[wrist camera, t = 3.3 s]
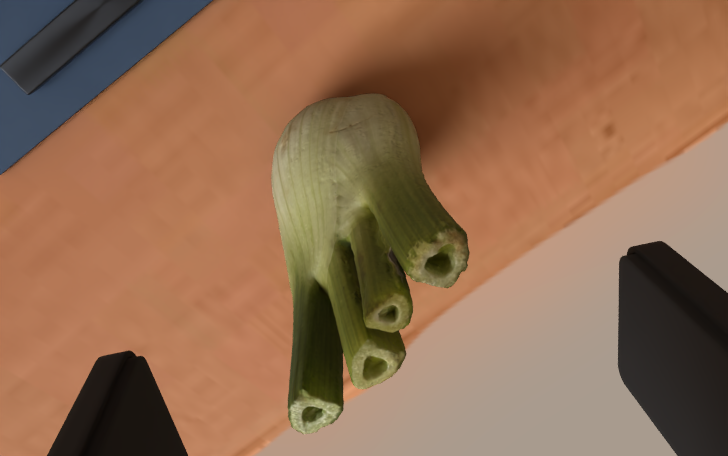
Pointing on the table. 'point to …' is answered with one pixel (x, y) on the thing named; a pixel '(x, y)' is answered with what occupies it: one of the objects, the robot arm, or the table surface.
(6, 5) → the napkin
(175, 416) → the table surface
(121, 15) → the cutlery
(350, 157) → the fennel bulb
